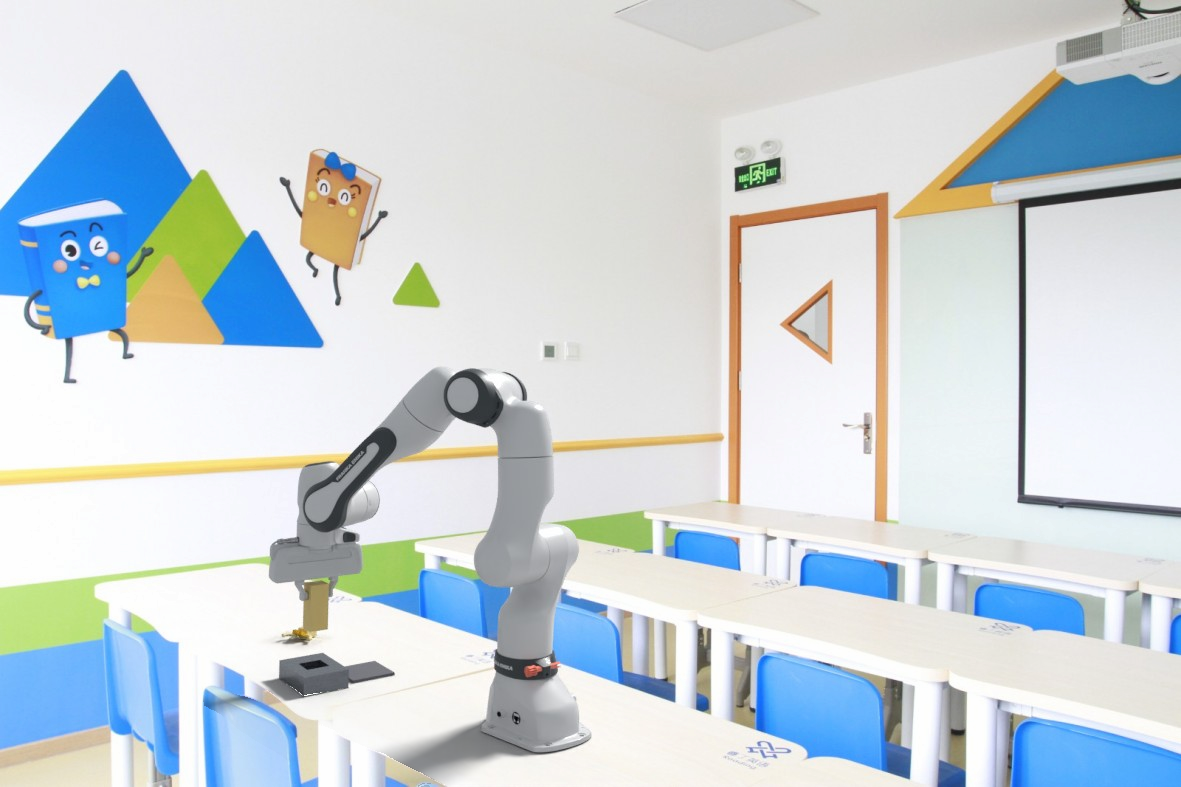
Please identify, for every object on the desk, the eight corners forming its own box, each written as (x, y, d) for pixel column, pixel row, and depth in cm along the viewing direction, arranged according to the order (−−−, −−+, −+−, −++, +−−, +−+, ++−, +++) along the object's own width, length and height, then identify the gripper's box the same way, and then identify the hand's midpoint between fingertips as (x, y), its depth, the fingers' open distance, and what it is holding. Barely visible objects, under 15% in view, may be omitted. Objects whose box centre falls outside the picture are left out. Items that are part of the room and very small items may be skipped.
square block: (327, 629, 197) (328, 583, 197) (310, 632, 194) (311, 585, 194) (320, 625, 200) (321, 580, 200) (302, 627, 198) (303, 582, 197)
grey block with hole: (348, 687, 195) (349, 669, 195) (303, 696, 189) (304, 677, 189) (322, 670, 206) (322, 652, 206) (278, 678, 200) (279, 660, 200)
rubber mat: (394, 675, 204) (394, 672, 204) (353, 683, 198) (353, 680, 198) (374, 663, 212) (374, 660, 212) (334, 670, 206) (334, 668, 206)
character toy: (279, 628, 226) (300, 621, 234) (279, 641, 226) (299, 633, 234) (306, 633, 223) (325, 625, 231) (305, 645, 224) (325, 637, 231)
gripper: (275, 541, 188) (274, 608, 188) (366, 533, 201) (365, 595, 201) (264, 537, 193) (263, 601, 193) (354, 529, 206) (353, 589, 206)
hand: (316, 598), depth 197 cm, fingers closed on square block, 4 cm apart
